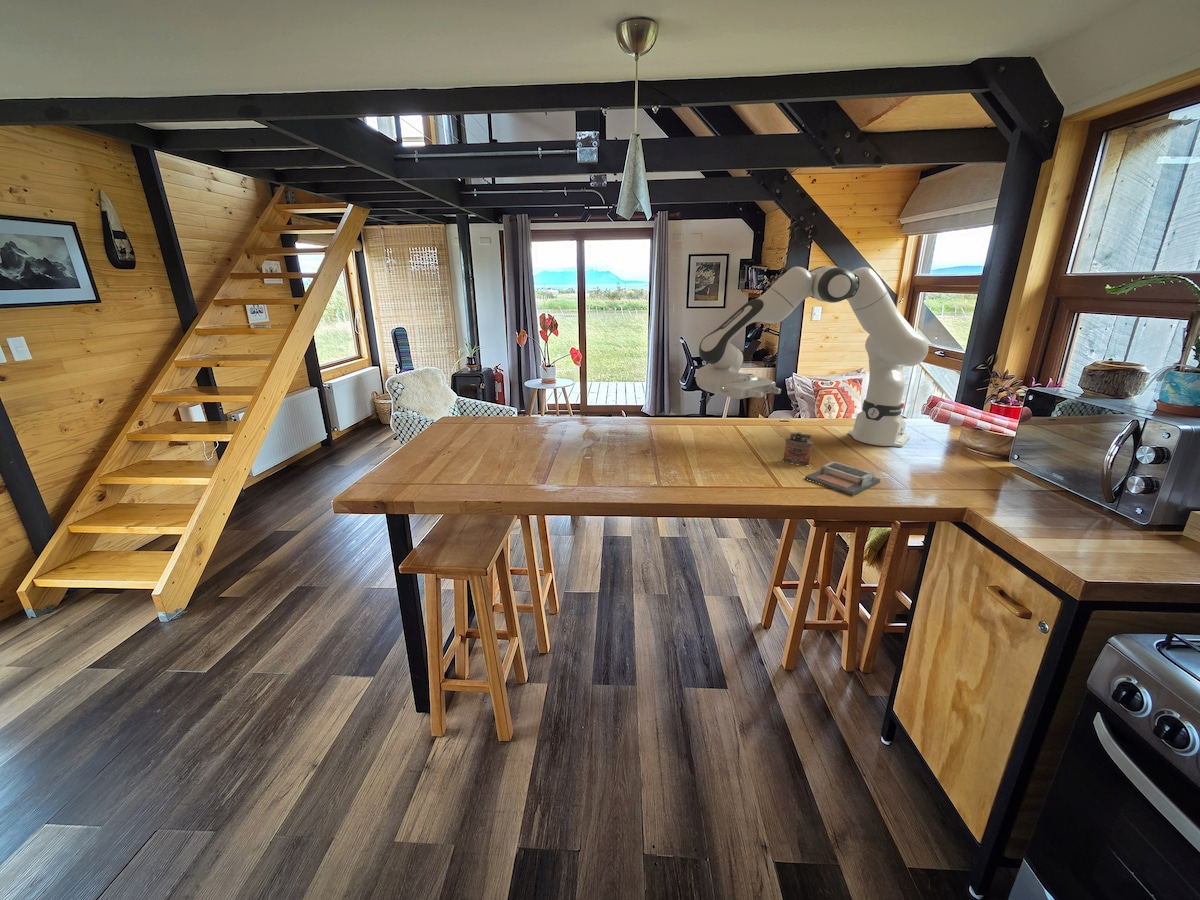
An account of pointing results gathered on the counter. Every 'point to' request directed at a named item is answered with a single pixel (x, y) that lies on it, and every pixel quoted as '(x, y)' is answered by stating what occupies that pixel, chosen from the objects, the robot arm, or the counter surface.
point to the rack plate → (843, 478)
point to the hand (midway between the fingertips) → (771, 393)
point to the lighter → (798, 449)
